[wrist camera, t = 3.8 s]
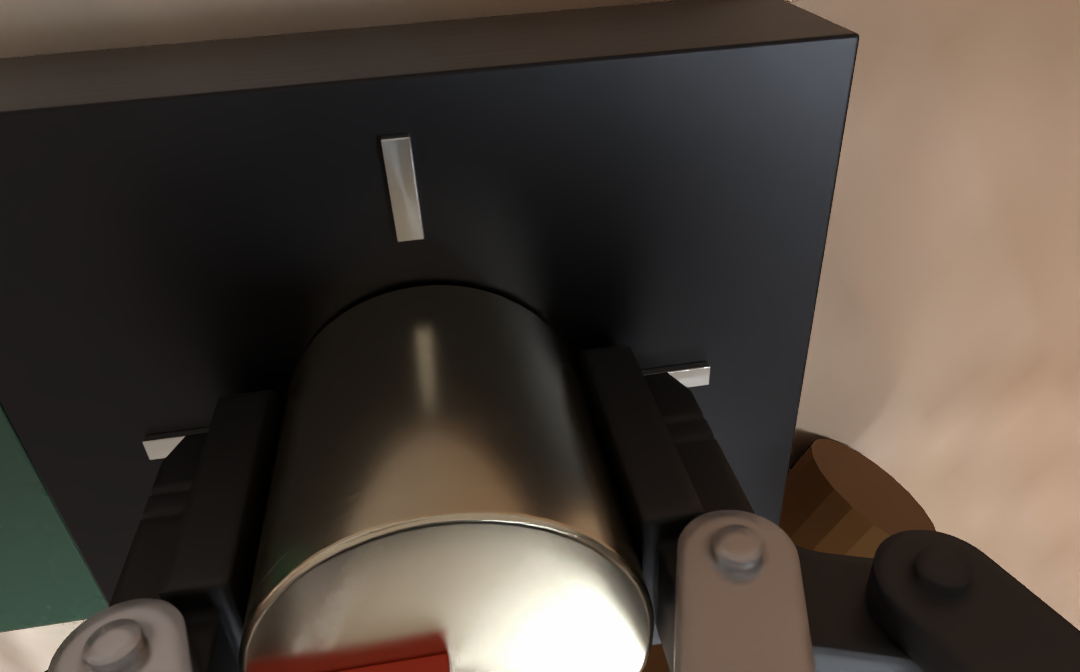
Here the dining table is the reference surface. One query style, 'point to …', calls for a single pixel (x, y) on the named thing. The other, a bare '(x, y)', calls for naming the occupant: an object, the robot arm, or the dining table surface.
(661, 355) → the panel
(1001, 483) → the dining table surface
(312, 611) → the dial
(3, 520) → the switchbox
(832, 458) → the hammer
